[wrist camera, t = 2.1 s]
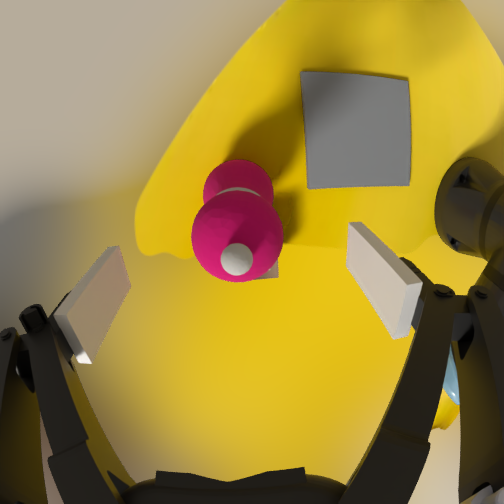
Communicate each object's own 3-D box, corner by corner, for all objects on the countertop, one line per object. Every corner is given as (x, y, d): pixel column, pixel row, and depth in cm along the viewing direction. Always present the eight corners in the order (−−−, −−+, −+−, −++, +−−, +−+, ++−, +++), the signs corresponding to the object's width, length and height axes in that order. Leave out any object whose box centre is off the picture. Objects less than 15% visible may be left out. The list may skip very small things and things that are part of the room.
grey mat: (404, 81, 27) (408, 81, 27) (406, 184, 33) (409, 185, 33) (299, 72, 27) (301, 71, 27) (307, 187, 33) (308, 189, 33)
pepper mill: (213, 150, 31) (176, 187, 13) (275, 162, 32) (322, 215, 14) (203, 208, 34) (165, 309, 16) (262, 219, 35) (284, 328, 17)
